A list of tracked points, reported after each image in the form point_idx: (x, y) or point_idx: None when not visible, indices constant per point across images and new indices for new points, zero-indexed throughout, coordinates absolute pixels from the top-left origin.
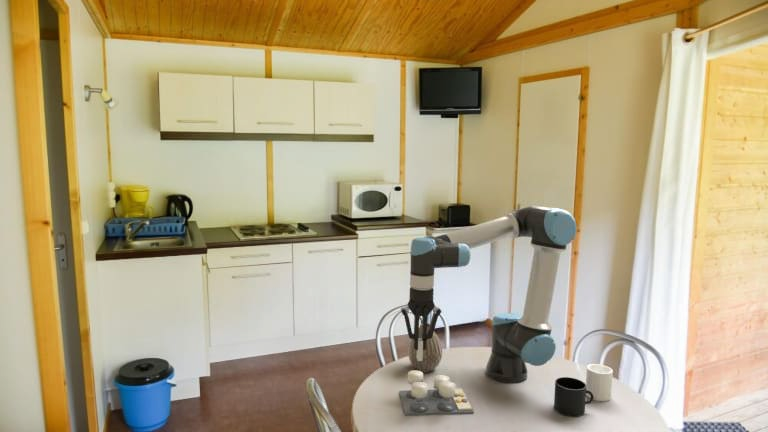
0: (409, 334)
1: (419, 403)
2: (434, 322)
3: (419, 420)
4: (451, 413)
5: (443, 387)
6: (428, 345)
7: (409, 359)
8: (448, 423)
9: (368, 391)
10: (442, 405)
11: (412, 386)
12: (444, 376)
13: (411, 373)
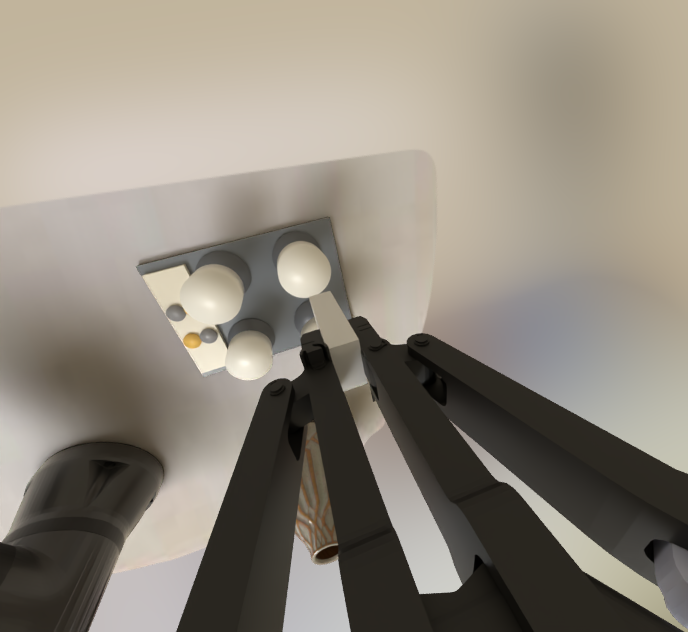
0: (444, 347)
1: None
2: (229, 546)
3: (287, 197)
4: (204, 249)
5: (220, 275)
6: (308, 481)
7: None
8: (201, 192)
9: (416, 313)
10: None
11: (326, 260)
12: (243, 374)
13: None
